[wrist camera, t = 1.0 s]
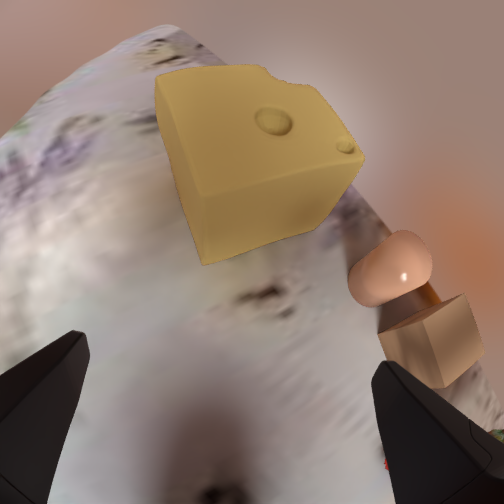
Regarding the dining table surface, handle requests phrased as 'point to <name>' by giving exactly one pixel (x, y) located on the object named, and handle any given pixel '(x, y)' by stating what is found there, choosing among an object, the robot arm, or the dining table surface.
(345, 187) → the cheese
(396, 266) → the peach rounded capsule
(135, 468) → the dining table surface
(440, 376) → the walnut block
